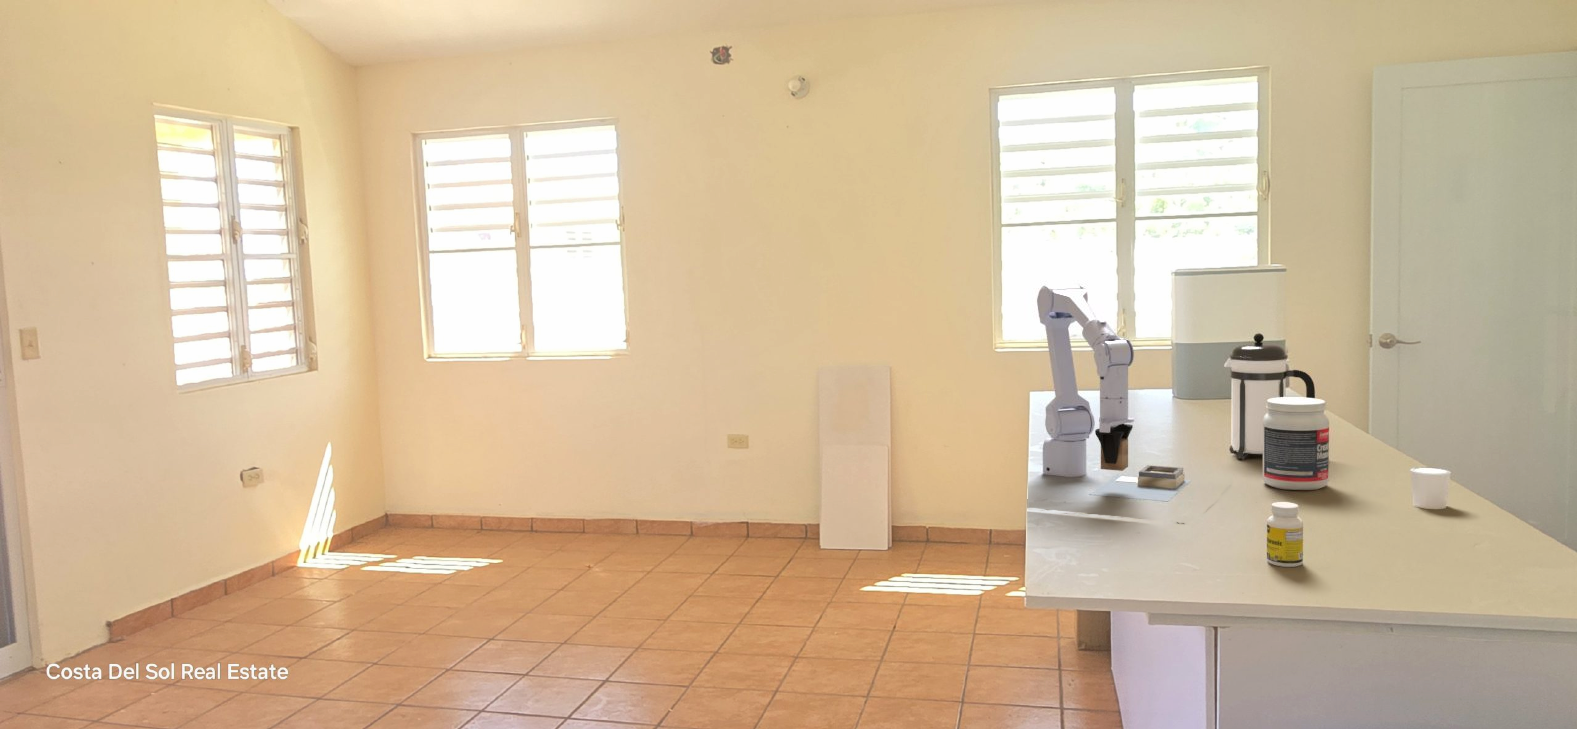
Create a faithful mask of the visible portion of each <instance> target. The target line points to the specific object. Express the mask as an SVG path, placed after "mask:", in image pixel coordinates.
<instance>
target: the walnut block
mask: <svg viewBox="0 0 1577 729" xmlns="http://www.w3.org/2000/svg"><path fill="white" fill-rule="evenodd" d="M1127 468H1129V438H1128V439H1123V438H1121V441H1120V445H1119V450H1118V458H1117V462H1116V464H1112V463H1106V462H1105V459H1104V455H1103V450H1102V447H1101V446H1100V470H1108V471H1119V472H1123V471H1125V470H1126V469H1127Z"/></svg>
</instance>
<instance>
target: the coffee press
mask: <svg viewBox="0 0 1577 729" xmlns="http://www.w3.org/2000/svg"><path fill="white" fill-rule="evenodd" d="M1264 338H1265V337H1264V335H1263V334H1261V333H1260V332H1259V333H1255V334H1254V336H1253V340H1254V343H1253V342H1252V343H1244V344H1240V345H1237V346H1235V347H1233V349H1232V352H1231V353H1230V354H1229V357H1228V359H1227V360H1226V361H1225V363H1224V365H1223V366H1224V368H1231V369H1230V379H1231V401H1230V402H1231V407H1230V408H1231V411H1230V412H1231V414H1230V415H1231V416H1230V417H1231V418H1230V419H1231V421H1230V422H1231V423H1230V424H1231V425H1230V426H1231V430H1230V432H1231V435H1230V436H1231V439H1230V440H1231V442H1230V443H1231V445H1230V446H1229V452H1230V453H1237V454H1236V455H1235V456H1236V459H1237V460H1239V459H1240V460H1239V461H1241V460H1242V461H1244V460H1245V459H1246V457H1247V456H1248V455H1253V454H1254V455H1255V454H1256V455H1263V418H1264V416H1265V415H1266V414H1267V413H1268V412H1269V410H1268V408H1266V406H1267V400H1268V399H1271V398H1279V397H1287V395H1286V392H1287V391H1286V388H1287V387H1286V385H1287V384H1286V383H1287V382H1286V380H1287V378H1288V377H1289V378H1290V377H1292V378H1299V379H1301V381H1303V382H1304V384H1305V392H1306V393H1305V394H1306V397H1305V398H1314V399H1316V395H1315V394H1316V392H1315V391H1316V390H1315V383H1314V381H1313V379H1312V377H1311V375H1310V374H1308V373H1307V372H1305V371H1303V370H1300V369H1292V370H1288V369H1287V365H1286V364H1287V360H1288V358H1289V356H1288V355H1289V354H1287V352H1286V351H1285V349H1284V348H1283V347H1282V346H1280V345H1278V344H1274V343H1263V341H1264Z"/></svg>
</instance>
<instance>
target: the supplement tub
mask: <svg viewBox="0 0 1577 729" xmlns="http://www.w3.org/2000/svg"><path fill="white" fill-rule="evenodd" d="M1266 408H1268V410H1269V412H1268V413H1267V414H1266V415H1265V416H1264V418H1263V454H1262V480H1263V482H1264V483H1265V484H1266V485H1268V486H1270V487H1273V488H1276V489H1280V490H1288V491H1289V490H1290V491H1314V490H1319V489H1322V488H1324V487H1326V486H1327V484H1329V473H1330V472H1329V467H1330V466H1329V465H1330V461H1329V460H1330V458H1329V457H1330V420H1329V418H1328V416H1327V415H1326V414H1325V410H1327V407H1326V401H1325V400H1324V399H1319V398H1315V399H1314V398H1306V397H1300V396H1299V397H1298V396H1297V397H1296V396H1295V397H1293V396H1286V397H1279V398H1271V399H1268V400H1267V406H1266Z"/></svg>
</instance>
